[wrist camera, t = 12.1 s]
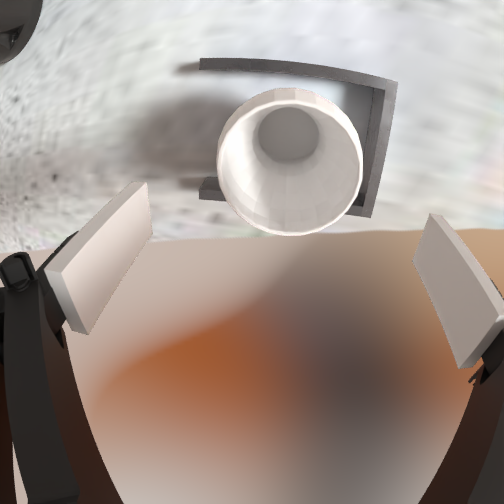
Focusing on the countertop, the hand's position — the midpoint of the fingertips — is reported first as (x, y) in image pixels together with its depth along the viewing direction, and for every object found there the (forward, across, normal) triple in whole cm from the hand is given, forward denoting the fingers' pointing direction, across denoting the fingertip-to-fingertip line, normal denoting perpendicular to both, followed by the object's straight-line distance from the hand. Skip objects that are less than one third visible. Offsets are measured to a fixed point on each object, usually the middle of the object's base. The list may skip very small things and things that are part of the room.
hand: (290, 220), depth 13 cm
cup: (+22, 0, 0) cm, 22 cm away
